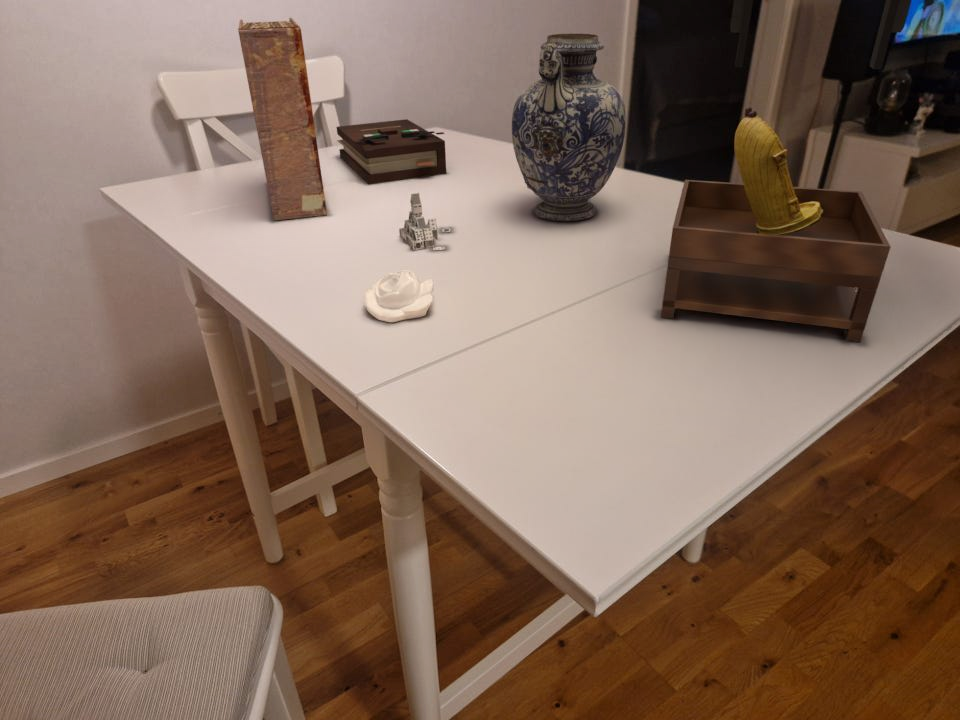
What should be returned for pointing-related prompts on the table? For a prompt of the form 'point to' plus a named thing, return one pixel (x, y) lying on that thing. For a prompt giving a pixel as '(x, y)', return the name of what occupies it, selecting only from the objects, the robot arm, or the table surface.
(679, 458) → the table surface
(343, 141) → the decorative book
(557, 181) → the decorative vase
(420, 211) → the house of cards
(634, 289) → the table surface
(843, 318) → the brown wooden open box
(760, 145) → the shrine
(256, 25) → the book
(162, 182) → the table surface
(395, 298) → the rose
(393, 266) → the table surface
